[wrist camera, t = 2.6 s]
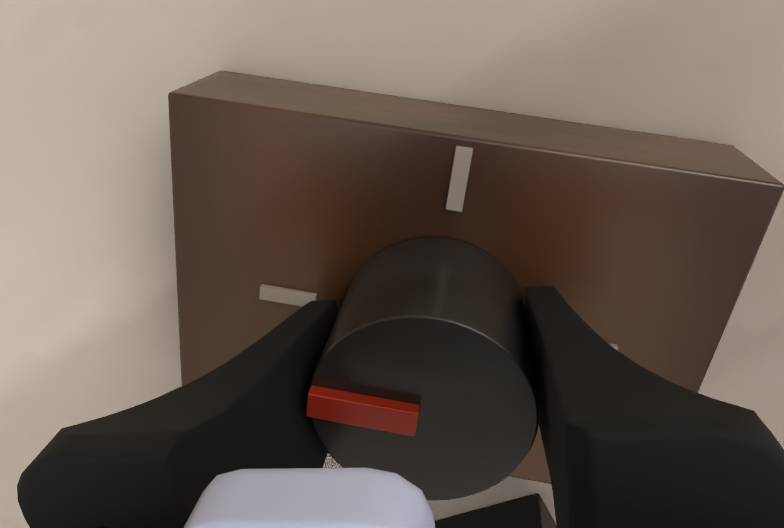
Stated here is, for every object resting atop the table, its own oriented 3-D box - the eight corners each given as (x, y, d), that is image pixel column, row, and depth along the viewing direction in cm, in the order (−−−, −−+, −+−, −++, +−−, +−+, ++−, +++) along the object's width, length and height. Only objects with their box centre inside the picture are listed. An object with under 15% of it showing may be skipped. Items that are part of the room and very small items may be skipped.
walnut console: (734, 145, 15) (790, 188, 12) (629, 428, 19) (653, 508, 16) (219, 69, 16) (163, 93, 13) (222, 355, 20) (179, 419, 17)
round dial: (547, 254, 14) (566, 349, 10) (507, 409, 16) (513, 531, 12) (352, 222, 14) (310, 305, 11) (337, 378, 16) (298, 489, 13)
